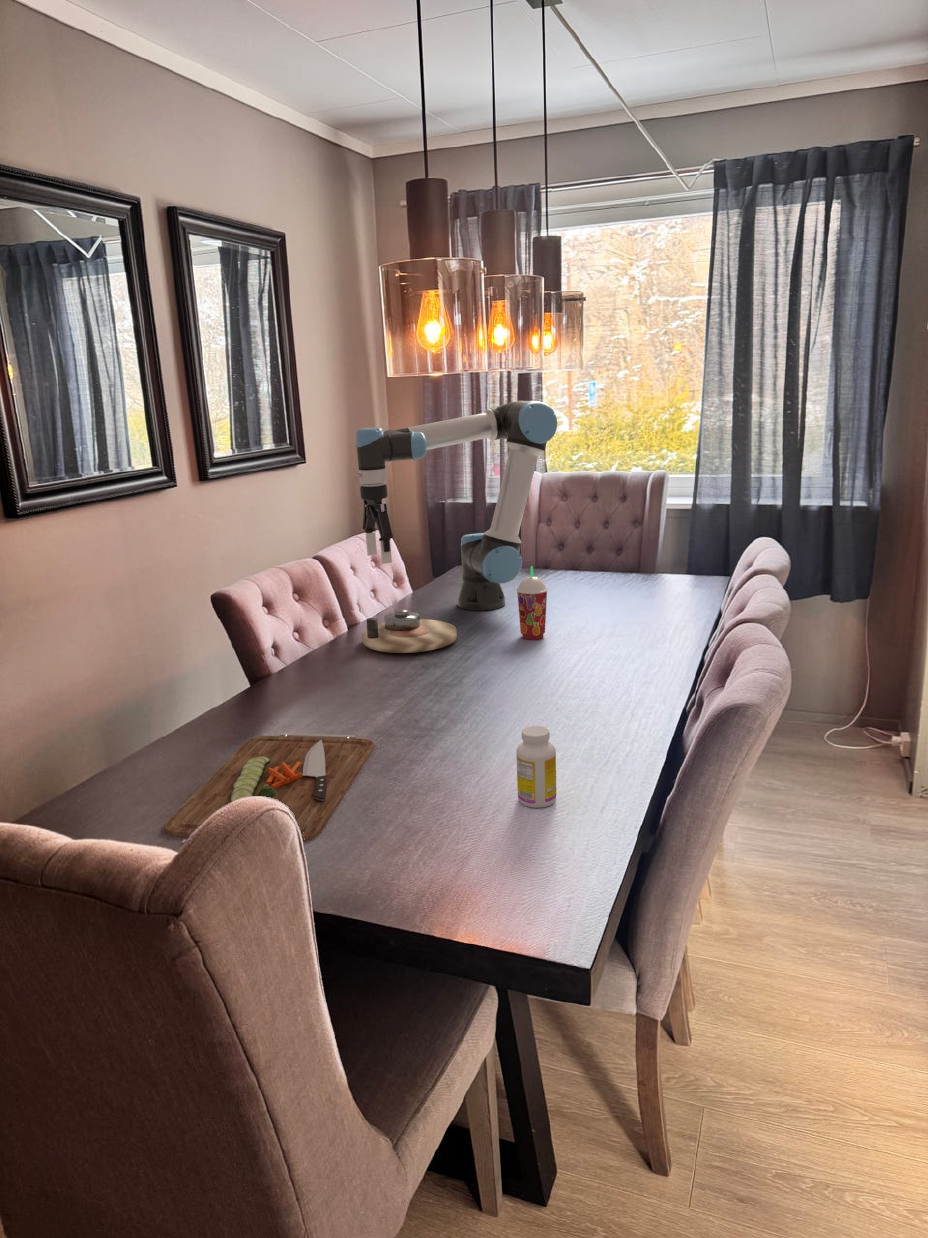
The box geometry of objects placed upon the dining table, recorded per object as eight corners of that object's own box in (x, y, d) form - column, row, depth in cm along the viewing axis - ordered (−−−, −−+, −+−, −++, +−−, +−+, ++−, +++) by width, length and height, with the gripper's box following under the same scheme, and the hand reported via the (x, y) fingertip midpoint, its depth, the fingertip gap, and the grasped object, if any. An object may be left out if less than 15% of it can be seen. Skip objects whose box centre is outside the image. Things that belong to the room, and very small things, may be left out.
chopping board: (257, 736, 187) (255, 722, 186) (381, 740, 182) (380, 726, 181) (150, 845, 144) (148, 828, 143) (309, 853, 139) (307, 836, 139)
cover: (413, 620, 257) (412, 604, 256) (425, 627, 248) (424, 612, 247) (380, 624, 254) (379, 609, 253) (391, 632, 245) (390, 616, 244)
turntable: (436, 621, 263) (435, 598, 261) (471, 643, 239) (470, 618, 238) (351, 633, 253) (349, 609, 251) (379, 658, 230) (377, 632, 228)
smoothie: (548, 632, 251) (547, 563, 246) (547, 641, 243) (547, 569, 238) (518, 632, 252) (517, 563, 247) (517, 641, 244) (515, 570, 239)
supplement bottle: (553, 790, 156) (553, 722, 153) (558, 808, 150) (558, 737, 146) (515, 792, 156) (514, 724, 153) (519, 810, 150) (517, 739, 146)
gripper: (348, 481, 259) (354, 553, 264) (373, 490, 236) (380, 568, 242) (372, 479, 261) (378, 550, 267) (400, 487, 239) (406, 564, 245)
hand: (379, 558), depth 255 cm, fingers open, 13 cm apart
